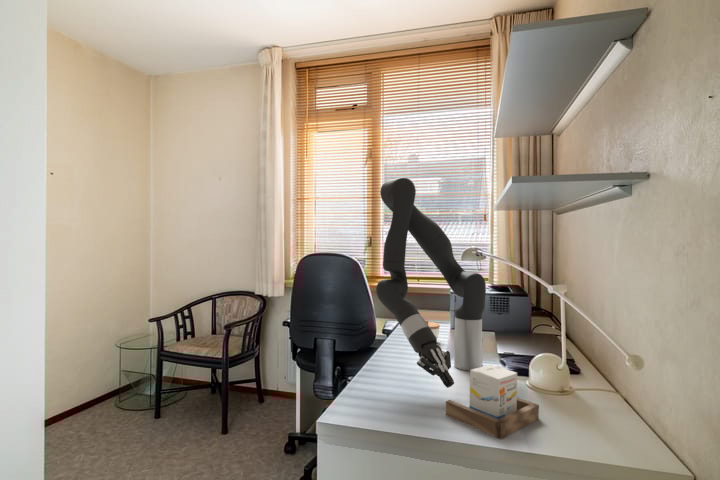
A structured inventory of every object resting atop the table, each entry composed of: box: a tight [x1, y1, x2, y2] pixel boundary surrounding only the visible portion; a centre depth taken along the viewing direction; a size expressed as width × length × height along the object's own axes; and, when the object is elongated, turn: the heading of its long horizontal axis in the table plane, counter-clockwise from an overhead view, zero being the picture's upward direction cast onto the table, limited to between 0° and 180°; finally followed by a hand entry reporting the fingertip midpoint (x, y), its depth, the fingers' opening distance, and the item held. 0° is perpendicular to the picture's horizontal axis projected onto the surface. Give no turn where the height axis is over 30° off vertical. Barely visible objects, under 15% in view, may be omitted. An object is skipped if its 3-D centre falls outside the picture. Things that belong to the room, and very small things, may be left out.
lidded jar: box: [425, 319, 440, 339], centre depth 176 cm, size 11×11×9 cm
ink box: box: [468, 364, 518, 419], centre depth 101 cm, size 9×8×12 cm
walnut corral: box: [445, 397, 540, 440], centre depth 101 cm, size 17×16×4 cm
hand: (451, 385), depth 111 cm, fingers closed
